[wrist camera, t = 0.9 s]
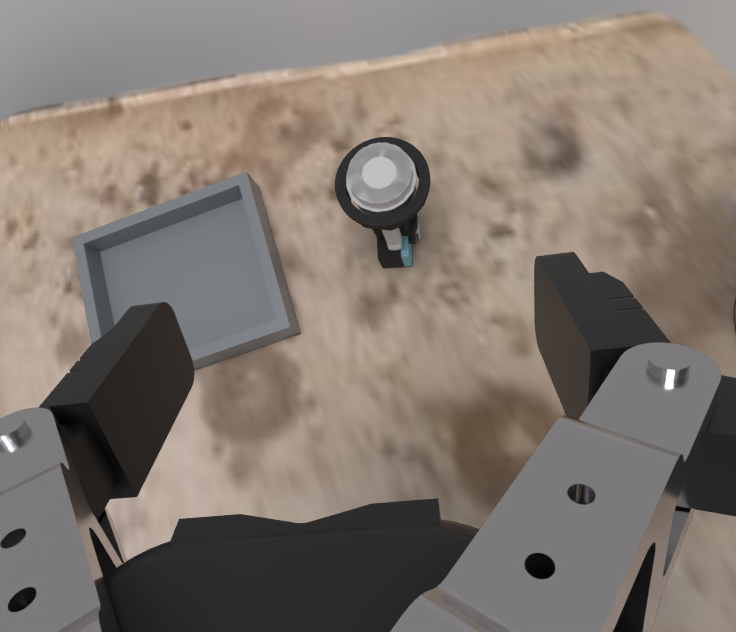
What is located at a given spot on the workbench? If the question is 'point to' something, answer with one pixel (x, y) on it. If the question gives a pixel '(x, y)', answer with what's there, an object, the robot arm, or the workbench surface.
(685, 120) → the workbench surface
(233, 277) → the tray
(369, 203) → the push button
